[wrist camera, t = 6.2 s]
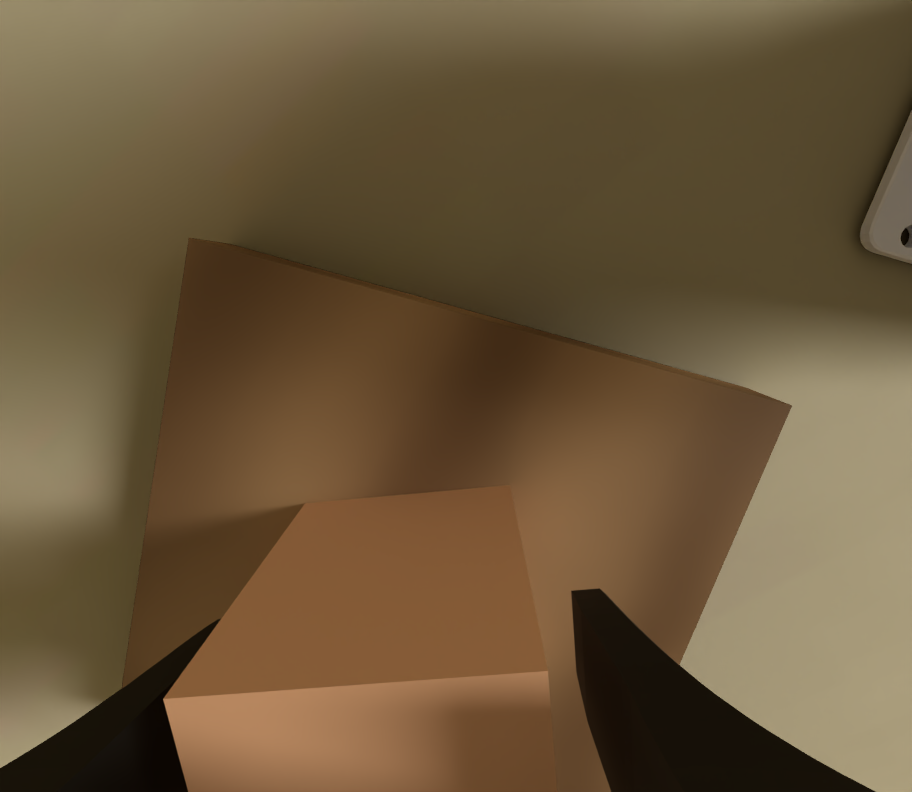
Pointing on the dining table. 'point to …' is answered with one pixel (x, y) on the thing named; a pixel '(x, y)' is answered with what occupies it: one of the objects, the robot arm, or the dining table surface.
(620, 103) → the dining table surface
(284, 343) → the walnut base
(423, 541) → the terracotta block
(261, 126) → the dining table surface
